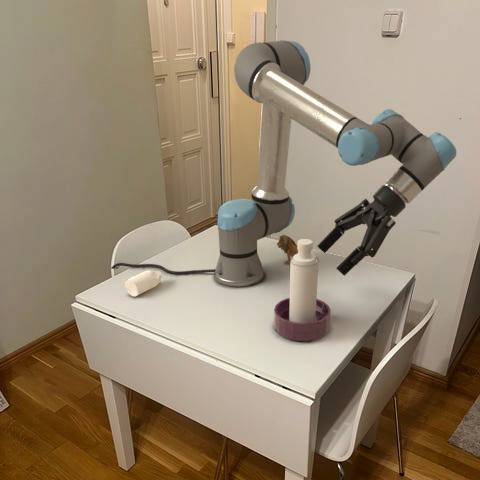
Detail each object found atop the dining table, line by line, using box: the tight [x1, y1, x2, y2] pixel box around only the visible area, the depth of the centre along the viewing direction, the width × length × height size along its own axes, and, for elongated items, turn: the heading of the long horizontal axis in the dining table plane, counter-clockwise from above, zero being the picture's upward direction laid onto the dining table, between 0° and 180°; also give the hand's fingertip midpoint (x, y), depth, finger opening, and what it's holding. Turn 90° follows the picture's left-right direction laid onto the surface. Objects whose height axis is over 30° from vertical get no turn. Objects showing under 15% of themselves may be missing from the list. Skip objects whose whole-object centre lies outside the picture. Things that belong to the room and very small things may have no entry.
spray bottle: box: [289, 238, 319, 323], centre depth 121 cm, size 7×7×25 cm
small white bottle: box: [124, 269, 163, 297], centre depth 149 cm, size 6×12×6 cm, turn 140°
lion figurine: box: [276, 234, 298, 265], centre depth 159 cm, size 15×5×9 cm, turn 50°
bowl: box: [273, 297, 332, 342], centre depth 126 cm, size 14×14×6 cm
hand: (329, 260), depth 119 cm, fingers open, 13 cm apart
